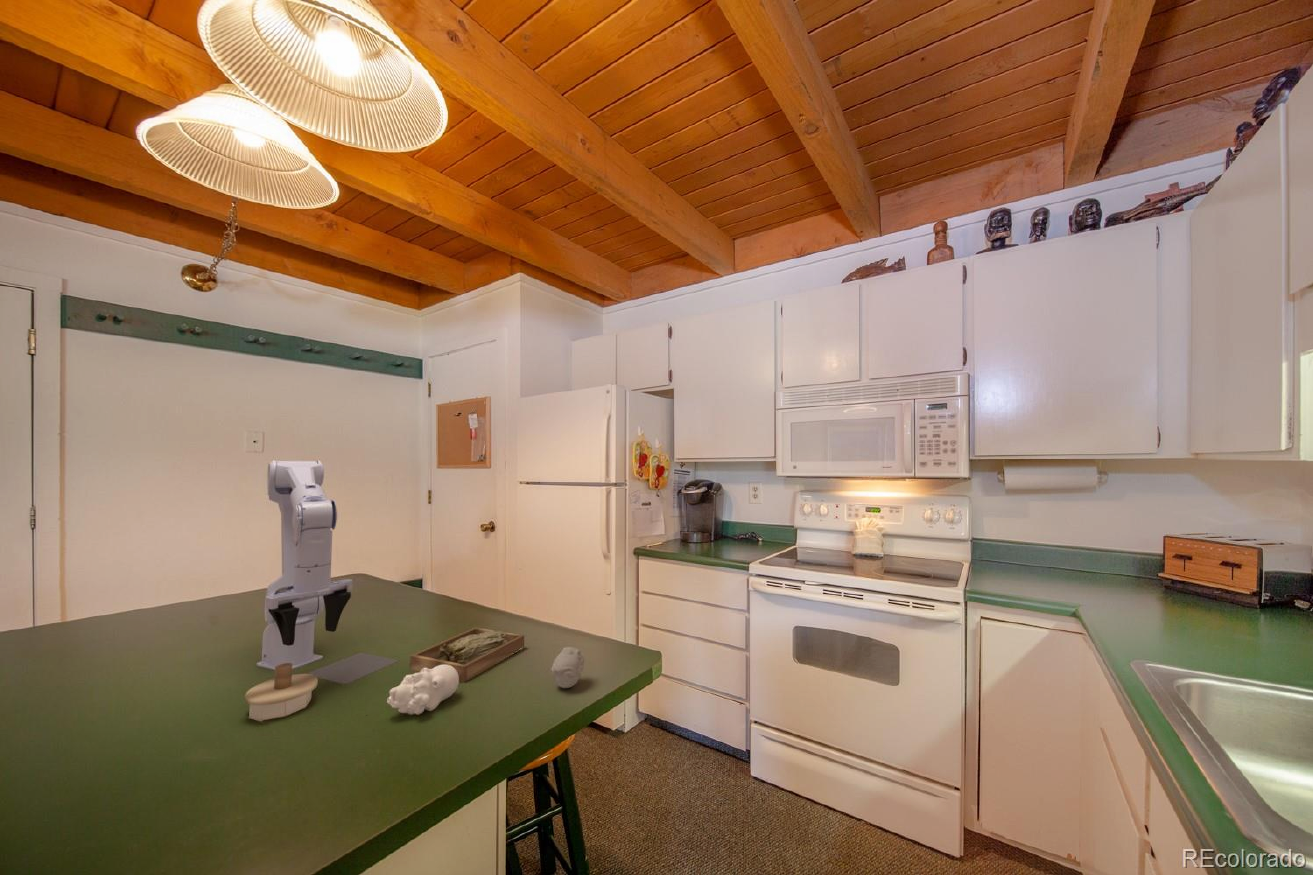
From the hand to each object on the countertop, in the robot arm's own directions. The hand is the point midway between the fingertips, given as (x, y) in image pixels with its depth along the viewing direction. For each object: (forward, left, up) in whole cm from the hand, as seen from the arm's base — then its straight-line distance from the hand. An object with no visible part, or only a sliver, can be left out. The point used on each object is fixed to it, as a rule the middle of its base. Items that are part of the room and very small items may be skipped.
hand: (310, 637), depth 90 cm
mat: (-2, +10, -10) cm, 15 cm away
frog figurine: (+44, +20, -10) cm, 49 cm away
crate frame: (+17, +23, -10) cm, 31 cm away
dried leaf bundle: (+18, +23, -11) cm, 31 cm away
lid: (+2, -6, -7) cm, 9 cm away
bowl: (+2, -6, -10) cm, 12 cm away
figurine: (+25, +4, -10) cm, 27 cm away
